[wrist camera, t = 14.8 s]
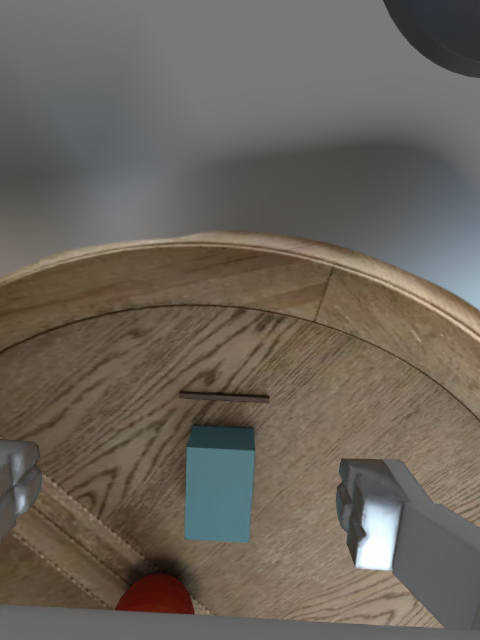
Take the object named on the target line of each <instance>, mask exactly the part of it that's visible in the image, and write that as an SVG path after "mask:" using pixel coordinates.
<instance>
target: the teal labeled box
mask: <svg viewBox="0 0 480 640" xmlns="http://www.w3.org/2000/svg"><path fill="white" fill-rule="evenodd" d="M254 458H255V442H254V429H252V428H233V427H214V426H195V425H193V428H192V431H191V434H190V438H189V441H188V444H187V451H186V498H185V539H190V540H209V541H228V542H247V543H249V536H250V521H251V505H252V490H253V474H254Z"/></svg>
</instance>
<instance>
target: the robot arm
mask: <svg viewBox="0 0 480 640" xmlns="http://www.w3.org/2000/svg"><path fill="white" fill-rule="evenodd" d="M39 458H40V452H39V445H38V444H36V443H35V442H31V441H17V440H4V439H0V544H1V542H2V541H3V540H4V539H5V538H6V536H7V535H8V534H9V533H10V532H11V530H12V529H13V528H14V527H15V526H16V517H17V516H19V515H21V514H23V513H25V512H26V511H28V510H29V509H30V508H31V506H32V505H33V504H34V503H35V501H36V499H37V497H38V494H39V492H40V490H41V484H42V472H41V470H40V469H39V468H38V467H37V465H36V464H35V463H36V462H37V460H38V459H39ZM339 474H340V476H341V479H342V482H341V484H340V485H339V486H338V487H337V494H336V506H337V514H338V519H339V522H340V525H341V527H342V528H343V529H344V530H345V531H346V532H347V533H348V534H347V542H346V543H347V545H348V548H349V551H350V554H351V557H352V560H353V563H354V565H355V568H365V569H377V570H389V571H393V572H392V573H393V574H394V575H395V576H396V577H397V578H398V579H399V580H400V581H401V582H402V583H403V584H404V585H405V587H406V588H407V589H408V590H409V591H410V592H411V593H412V594H413V595H414V596H415V597H416V598H417V599H418V600H419V601H420V602H421V603H422V604H423V605H424V606H425V608H426V609H427V610H428V611H429V612H430V613H431V614H432V615H433V616H434V617H435V618H436V619H437V620H438V621H439V622H440V623H441V624H442V625H443V626H444V627H445V629H443V628H425V627H406V626H387V625H367V624H347V623H330V622H313V621H295V620H278V619H261V618H243V617H226V616H209V615H192V614H173V613H155V612H137V611H118V610H100V609H81V608H63V607H44V606H26V605H8V604H0V640H480V528H479V527H478V526H476V525H475V524H473V523H471V522H470V521H468V520H466V519H465V518H463V517H461V516H460V515H458V514H456V513H455V512H453V511H451V510H450V509H448V508H446V507H445V506H443V505H441V504H434V503H433V502H432V500H431V499H430V498H429V496H428V495H427V494H426V492H425V491H424V490H423V488H422V487H421V486H420V484H419V483H418V482H417V480H416V479H415V478H414V476H413V475H412V474H411V472H410V471H409V470H408V468H407V467H406V466H405V464H404V463H403V462H402V461H400V460H393V459H380V460H378V459H345V458H342V460H341V463H340V468H339Z"/></svg>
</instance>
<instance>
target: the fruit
mask: <svg viewBox="0 0 480 640" xmlns="http://www.w3.org/2000/svg"><path fill="white" fill-rule="evenodd" d="M115 610H118V611H137V612H155V613H173V614H192V615H194V608H193V604H192V601H191V598H190V594H189V593H188V591H187V590H186V588H185V587H184V586H183V584H182V583H181V582H180V581H179V580H178V579H176V578H175V577H173V576H170V575H167V574H161V573H156V574H151V575H148V576H146V577H144V578H142V579H140V580H139V581H137V582H135V583H134V584H133V585H132V586H131V587H130V588H129V589H128V590H127V591H126V593H125V594H124V595H123V596H122V597H121V599H120V601H119V602H118V604H117V606H116V608H115Z"/></svg>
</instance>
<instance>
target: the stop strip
mask: <svg viewBox="0 0 480 640" xmlns="http://www.w3.org/2000/svg"><path fill="white" fill-rule="evenodd" d="M180 398H185V399H203V400H222V401H240V402H259V403H269V396H253V395H235V394H216V393H198V392H180Z"/></svg>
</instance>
